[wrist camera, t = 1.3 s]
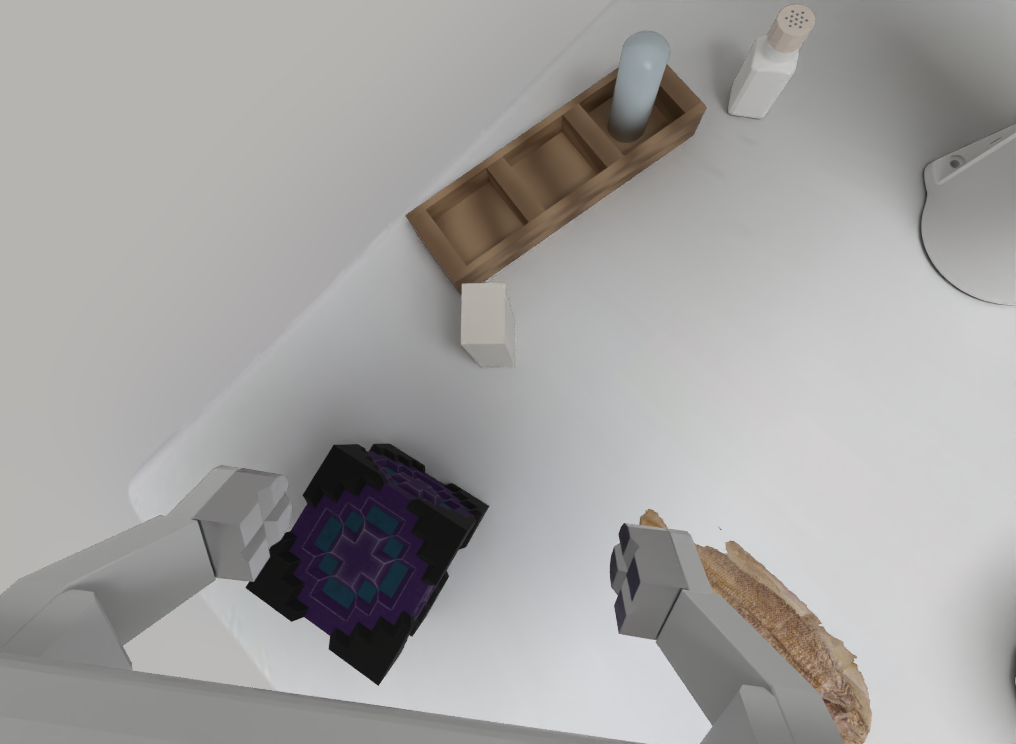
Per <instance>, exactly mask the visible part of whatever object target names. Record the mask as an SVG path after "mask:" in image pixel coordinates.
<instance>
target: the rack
mask: <svg viewBox="0 0 1016 744" xmlns="http://www.w3.org/2000/svg"><path fill="white" fill-rule="evenodd" d="M618 69H619V68H617V69H616V70H614V71H613V72H612V73H610V74H609V75H607V76H606V77H604V78H603V79H601V80H600V81H599V82H597V83H596V84H594V85H593V86H591V87H590V88H588V89H587V90H586V91H584V92H583V93H581V94H580V95H578V96H577V97H576V98H574V99H573V100H571V101H570V102H568V103H567V104H565V105H564V106H563V107H561V108H560V109H558V110H557V111H555V112H554V113H552V114H551V115H550V116H548V117H547V118H545V119H544V120H542V121H541V122H539V123H538V124H537V125H535V126H534V127H532V128H531V129H529V130H528V131H526V132H525V133H524V134H522V135H521V136H519V137H518V138H516V139H515V140H513V141H512V142H511V143H509V144H508V145H506V146H505V147H503V148H502V149H500V150H499V151H498V152H496V153H495V154H493V155H492V156H490V157H489V158H487V159H486V160H485V161H483V162H482V163H480V164H479V165H477V166H476V167H474V168H473V169H472V170H470V171H469V172H467V173H466V174H464V175H463V176H462V177H460V178H459V179H457V180H456V181H454V182H453V183H451V184H450V185H449V186H447V187H446V188H444V189H443V190H441V191H440V192H438V193H437V194H436V195H434V196H433V197H431V198H430V199H428V200H427V201H425V202H424V203H423V204H421V205H420V206H418V207H417V208H415V209H414V210H412V211H411V212H410V213H408V214H407V215H406V217H407V219H408V220H409V222H410V223H411V225H412V227H413V228H414V230H415V231H416V233H417V234H418V236H419V237H420V239H421V240H422V241H423V243H424V244H425V246H426V247H427V248H428V250H429V251H430V253H431V254H432V255H433V257H434V258H435V260H436V261H437V263H438V264H439V265H440V267H441V268H442V270H443V271H444V272H445V274H446V275H447V277H448V278H449V279H450V281H451V282H452V284H453V285H454V286H455V288H456V289H457V291H458V292H459V293H460V295H461V296H462V284H467V283H482V282H484V281H485V280H487V279H488V278H490V277H491V276H492V275H494V274H495V273H497V272H498V271H500V270H501V269H502V268H504V267H505V266H507V265H508V264H510V263H511V262H512V261H514V260H515V259H517V258H518V257H520V256H521V255H522V254H524V253H525V252H527V251H528V250H530V249H531V248H532V247H534V246H535V245H537V244H538V243H540V242H541V241H542V240H544V239H545V238H547V237H548V236H550V235H551V234H552V233H554V232H555V231H557V230H558V229H560V228H561V227H562V226H564V225H565V224H567V223H568V222H570V221H571V220H572V219H574V218H575V217H577V216H578V215H580V214H581V213H582V212H584V211H585V210H587V209H588V208H590V207H591V206H593V205H594V204H595V203H597V202H598V201H600V200H601V199H603V198H604V197H605V196H607V195H608V194H610V193H611V192H613V191H614V190H615V189H617V188H618V187H620V186H621V185H623V184H624V183H625V182H627V181H628V180H630V179H631V178H633V177H634V176H635V175H637V174H638V173H640V172H641V171H643V170H644V169H645V168H647V167H648V166H650V165H651V164H653V163H654V162H655V161H657V160H658V159H660V158H661V157H663V156H664V155H665V154H667V153H668V152H670V151H671V150H673V149H674V148H675V147H677V146H678V145H680V144H681V143H683V142H684V141H685V140H687V139H688V138H690V137H691V136H693V135H694V133H695V131H696V129H697V126H698V124H699V122H700V120H701V118H702V116H703V114H704V112H705V110H706V108H707V107H706V106H705V104H704V103H703V102H702V101H701V100H700V99H699V98H698V97H697V96H696V95H695V94H694V93H693V92H692V91H691V90H690V88H689V87H688V86H687V85H686V84H685V83H684V82H683V81H682V80H681V79H680V78H679V77H678V76H677V75H676V74H675V72H674V71H673V70H672V69H671V68H670V67H669V66H668V65H667V64H666V67H665V70H664V73H663V77H662V80H661V83H660V86H659V89H658V92H657V95H656V99H655V102H654V105H653V108H652V111H651V114H650V118H649V121H648V124H647V127H646V130H645V133H644V134H643V136H642V137H641V138H640V139H638V140H637V141H634V142H631V143H622V142H619V141H617V140H615V139H614V138H613V137H612V136H611V135H610V133H609V131H608V121H609V116H610V111H611V106H612V100H613V95H614V90H615V85H616V80H617V74H618Z"/></svg>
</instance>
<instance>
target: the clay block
mask: <svg viewBox="0 0 1016 744" xmlns="http://www.w3.org/2000/svg"><path fill="white" fill-rule="evenodd" d="M461 345H462V346H463V348H464V349H465V350H466V351H467V352H468V353H469V354H470V355H471V357H472V358H473V359H474V360H475V361H476V362H477V363H478V364H479V365H480V367H481V368H488V367H515V318H514V314H513V310H512V306H511V303H510V299H509V295H508V291H507V288H506V284H505V282H501V283H467V284H462V301H461Z"/></svg>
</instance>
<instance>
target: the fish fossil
mask: <svg viewBox="0 0 1016 744" xmlns="http://www.w3.org/2000/svg"><path fill="white" fill-rule="evenodd" d="M640 525H643V526H651V527H658V528H664V529H668V528H667V526H666V524H665V523H664V522H663V520H662V518H660V517H659V516H658V513H656V512H654V510H651V509H648V511H647V510H646V513H645V514H644V515H642V516H641V518H640ZM720 530H721V529H720ZM694 545H695V547H696V550H697V553H698V555H699V558H700V561H701V563H702V566H703V568H704V571H705V574H706V576H707V579H708V581H709V584H710V587H711V589H712V592H713V594H718V595H720V596H721V597H722V598H724V599H725V600H726V601H727V602H728V603H729V604H730V605H731V606H732V607H733V608H734V609H735V610H736V611H737V612H738V613H739V614H740V615H741V616H742V617H743V618H744V619H745V620H746V621H747V622H748V623H749V624H750V625H751V626H752V627H753V628H754V629H755V630H756V631H757V632H758V633H759V634H760V635H761V636H762V637H763V638H764V639H765V640H766V641H767V642H768V643H769V644H770V645H771V646H772V647H773V648H774V649H775V650H776V651H777V652H778V653H779V654H780V655H781V656H782V657H783V658H784V659H785V660H786V661H787V662H788V663H789V664H790V665H791V666H792V667H793V668H794V669H795V670H796V671H797V672H798V673H799V674H800V675H801V676H802V677H803V678H804V679H805V680H806V681H807V682H808V683H809V684H810V685H811V686H812V687H813V688H814V689H816V690H817V691H818V692H819V693H820V695H821V697H822V699H823V701H824V703H825V705H826V707H827V709H828V711H829V713H830V715H831V717H832V719H833V721H834V723H835V725H836V727H837V729H838V731H839V733H840V735H841V737H842V739H843V741H844V743H845V744H863V743H864V741H865V739H866V737H867V735H868V733H869V731H870V726H871V716H872V712H871V710H870V700H869V694H868V691H867V686H866V684H865V682H864V679H863V676H862V674H861V672H859V671H858V668H857V664H855V663H853V661H854V658H857V656H855V655H853V654H852V653H851V652H849V651H848V650H847V649H846V648H845V647H844V644H843V642H842V641H841V640H839V639H837V638H834V637H833V636H831V635H830V634H829V633H827V632H826V630H825V629H824V627H821V626H819V625H818V624H821V622H820V620H819V619H818V617H817V616H816V615H815V614H814V613H812V612H811V611H810V610H809V609H808V608H807V605H806V604H805V603H803V602H802V601H800V600H799V598H798V597H797V596H796V595H795V594H793V593H792V592H791V591H789V590H788V589H787V588H786V587H785V586H784V584H783V583H782V582H781V581H779V580H778V579H777V578H776V577H775V576H774V575H772V574H771V573H770V572H769V571H768V570H766V568H765V567H764V566H763V565H762V564H761V563H759V562H757V561H756V560H755V559H754V558H753V557H752V556H751V555H750V554H749V553H748V552H746V551H745V550H744V549H743V548H742V547H741V546H740V545H739V544H737V543H736V542H734V541H729V542H726V550H727V552H728V554H727V553H726V554H723V553H721V552H719V551H718V550H717V549H714V548H712V547H709V546H705V547H702V546H700V545H696V544H695V543H694Z"/></svg>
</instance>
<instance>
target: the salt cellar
mask: <svg viewBox="0 0 1016 744" xmlns="http://www.w3.org/2000/svg"><path fill="white" fill-rule="evenodd" d="M669 54H670V47H669V44H668V42H667V40H666V39H665V38H664V37H663V36H662V35H660V34H658V33H656V32H652V31H642V32H638V33H636V34H634V35H632V36H631V37H629V38H628V39H627V40H626V42H625V43H624V45H623V49H622V54H621V59H620V64H619V69H618V74H617V80H616V85H615V90H614V95H613V100H612V106H611V111H610V116H609V121H608V131H609V133H610V135H611V136H612V137H613V138H614V139H615V140H617V141H619V142H622V143H631V142H634V141H637V140H638V139H640V138H641V137H642V136H643V134H644V133H645V130H646V127H647V124H648V121H649V118H650V114H651V111H652V108H653V105H654V102H655V99H656V95H657V92H658V89H659V86H660V83H661V80H662V77H663V73H664V70H665V67H666V64H667V61H668V58H669Z"/></svg>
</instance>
